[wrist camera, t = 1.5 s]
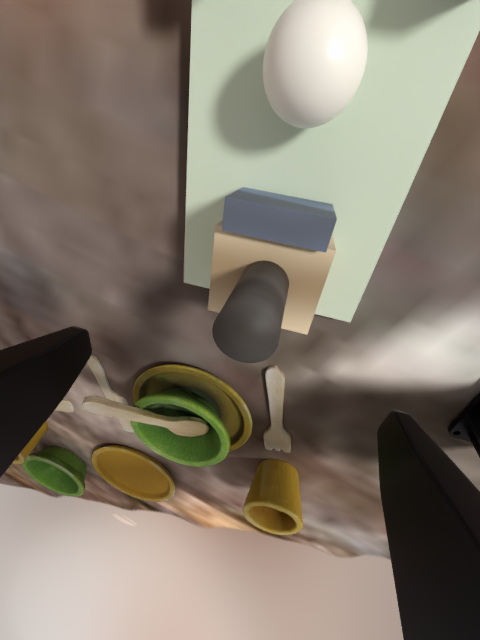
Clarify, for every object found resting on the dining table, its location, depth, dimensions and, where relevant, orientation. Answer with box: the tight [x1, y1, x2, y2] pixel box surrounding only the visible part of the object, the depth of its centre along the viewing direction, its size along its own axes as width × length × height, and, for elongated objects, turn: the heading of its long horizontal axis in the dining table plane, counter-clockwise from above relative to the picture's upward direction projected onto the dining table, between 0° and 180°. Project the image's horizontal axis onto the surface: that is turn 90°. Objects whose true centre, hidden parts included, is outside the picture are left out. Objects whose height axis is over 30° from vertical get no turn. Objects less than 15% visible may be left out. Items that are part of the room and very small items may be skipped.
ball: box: [263, 0, 368, 128], centre depth 11 cm, size 4×4×4 cm
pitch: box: [184, 0, 480, 322], centre depth 12 cm, size 22×12×6 cm, turn 172°
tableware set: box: [13, 355, 303, 535], centre depth 33 cm, size 41×28×6 cm
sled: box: [208, 187, 337, 363], centre depth 14 cm, size 6×6×8 cm
